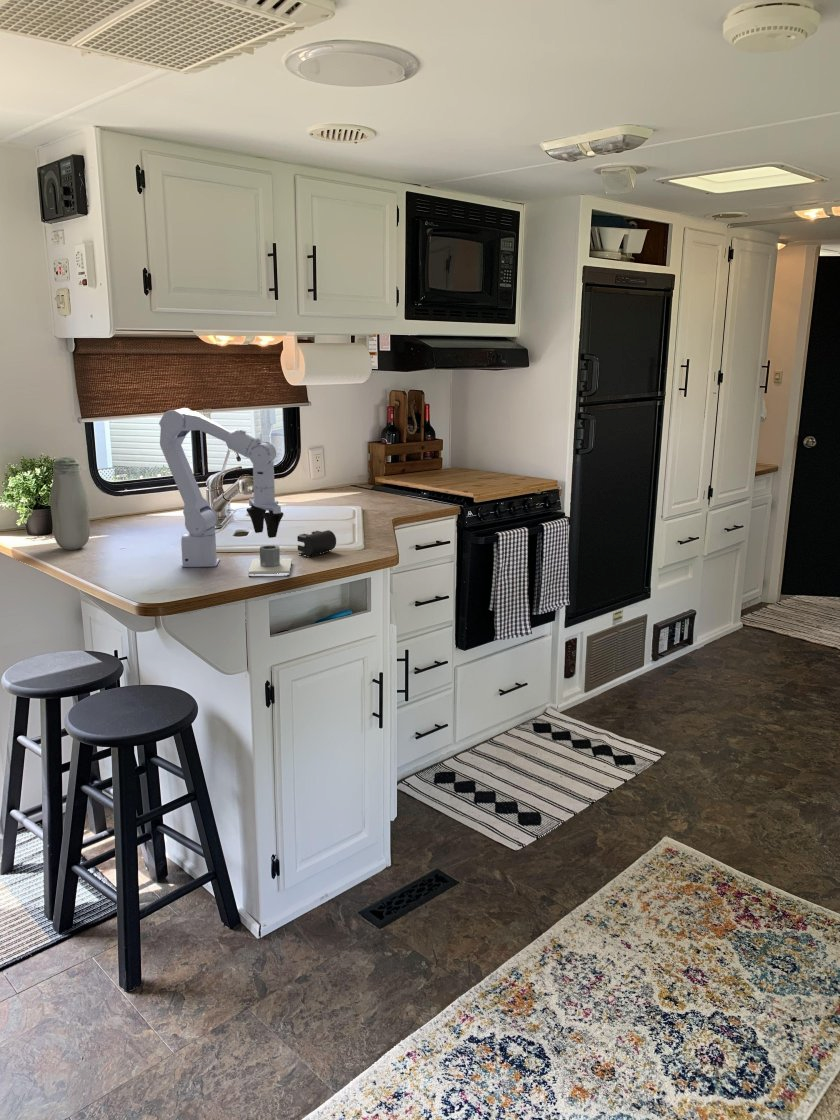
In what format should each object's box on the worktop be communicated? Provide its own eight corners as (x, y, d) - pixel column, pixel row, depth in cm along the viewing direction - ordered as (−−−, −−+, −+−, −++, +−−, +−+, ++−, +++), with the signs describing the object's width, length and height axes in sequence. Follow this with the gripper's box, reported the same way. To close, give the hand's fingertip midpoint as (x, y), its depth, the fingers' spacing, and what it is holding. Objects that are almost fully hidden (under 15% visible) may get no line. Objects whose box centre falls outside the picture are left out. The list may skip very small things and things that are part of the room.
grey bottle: (78, 553, 253) (70, 460, 247) (48, 551, 256) (39, 458, 249) (98, 546, 263) (90, 455, 256) (68, 544, 265) (60, 454, 258)
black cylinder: (313, 559, 250) (313, 536, 249) (296, 555, 254) (296, 533, 253) (336, 553, 258) (336, 531, 256) (320, 549, 262) (319, 528, 260)
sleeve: (269, 568, 233) (268, 550, 232) (256, 564, 237) (256, 547, 235) (283, 564, 237) (283, 547, 236) (271, 561, 241) (270, 544, 239)
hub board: (248, 576, 230) (247, 557, 229) (253, 564, 244) (252, 545, 242) (289, 576, 231) (289, 556, 230) (291, 563, 245) (291, 544, 243)
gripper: (290, 489, 232) (291, 537, 235) (264, 482, 243) (265, 528, 246) (267, 491, 228) (268, 540, 231) (241, 484, 239) (243, 531, 242)
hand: (265, 534), depth 238 cm, fingers open, 7 cm apart
